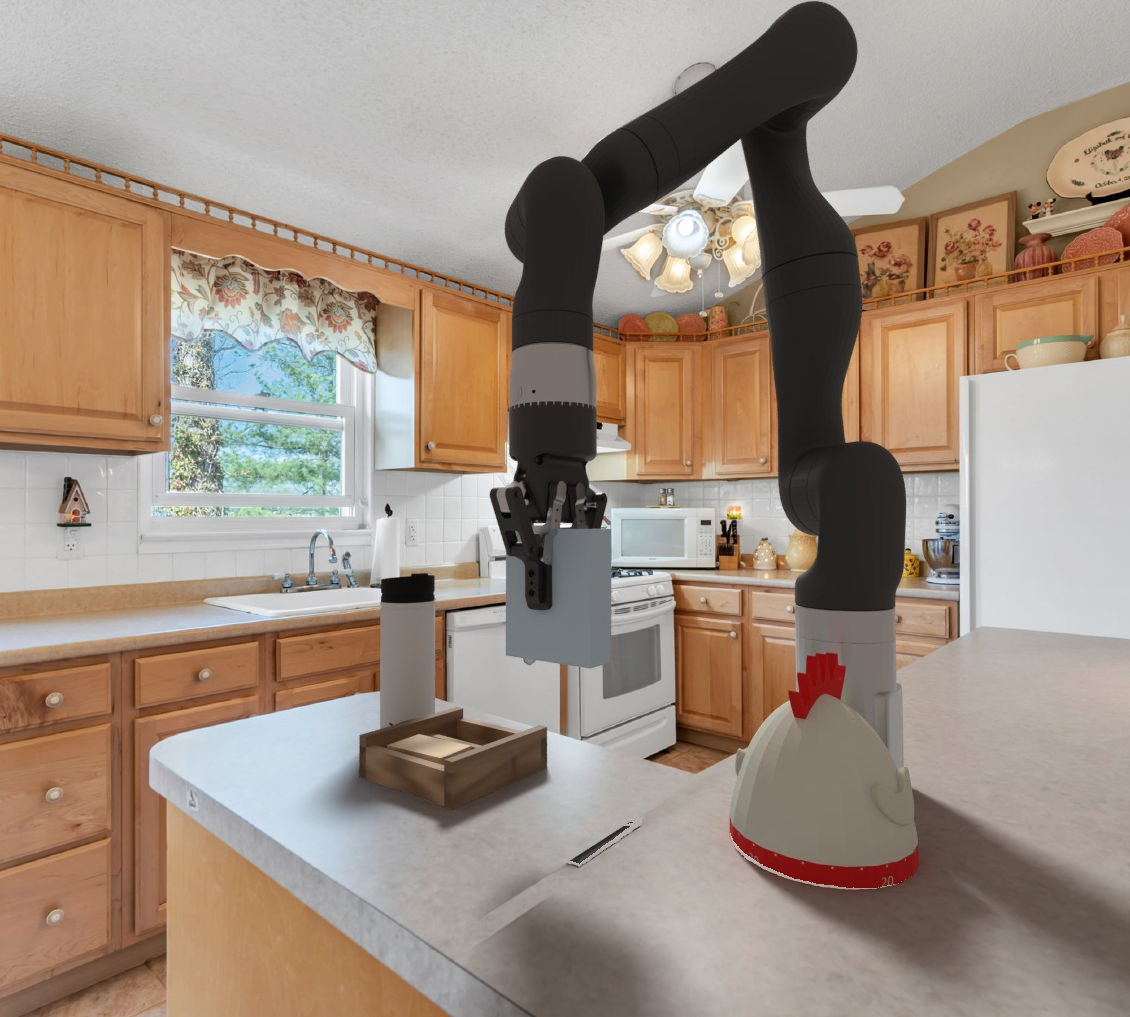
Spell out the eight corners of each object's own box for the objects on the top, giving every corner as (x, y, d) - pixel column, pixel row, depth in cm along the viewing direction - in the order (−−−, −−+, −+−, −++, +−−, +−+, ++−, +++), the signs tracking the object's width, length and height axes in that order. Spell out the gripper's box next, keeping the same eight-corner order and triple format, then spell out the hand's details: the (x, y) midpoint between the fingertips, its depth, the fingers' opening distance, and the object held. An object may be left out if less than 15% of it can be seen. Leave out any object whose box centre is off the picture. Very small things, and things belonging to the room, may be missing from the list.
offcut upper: (471, 762, 66) (471, 745, 66) (440, 775, 62) (440, 758, 62) (418, 749, 70) (418, 734, 70) (387, 761, 66) (387, 745, 66)
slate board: (611, 662, 57) (611, 528, 57) (590, 668, 54) (590, 529, 54) (528, 650, 62) (528, 528, 62) (505, 655, 60) (506, 528, 60)
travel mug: (396, 757, 75) (396, 574, 76) (370, 743, 80) (371, 572, 81) (446, 745, 79) (446, 572, 80) (419, 732, 84) (419, 569, 85)
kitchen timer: (944, 845, 54) (940, 654, 55) (874, 914, 45) (870, 681, 45) (782, 797, 64) (780, 635, 65) (695, 844, 55) (694, 654, 55)
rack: (547, 776, 69) (547, 726, 69) (452, 820, 59) (452, 762, 59) (456, 751, 77) (456, 707, 77) (359, 786, 67) (359, 734, 67)
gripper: (533, 386, 51) (534, 619, 51) (633, 412, 62) (634, 603, 62) (462, 398, 56) (462, 612, 55) (567, 420, 67) (567, 598, 66)
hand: (553, 606), depth 59 cm, fingers closed on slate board, 3 cm apart
